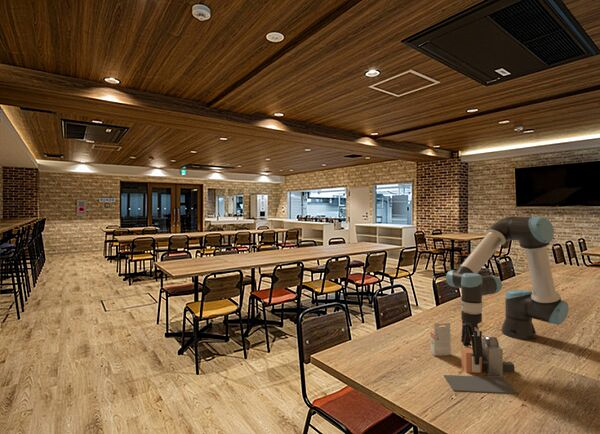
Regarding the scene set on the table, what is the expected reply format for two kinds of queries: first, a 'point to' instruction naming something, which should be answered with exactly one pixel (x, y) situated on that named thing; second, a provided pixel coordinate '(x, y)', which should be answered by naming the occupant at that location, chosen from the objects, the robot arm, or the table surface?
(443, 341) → the ink box
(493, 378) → the mat
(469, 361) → the plug
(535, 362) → the table surface
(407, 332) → the table surface
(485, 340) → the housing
